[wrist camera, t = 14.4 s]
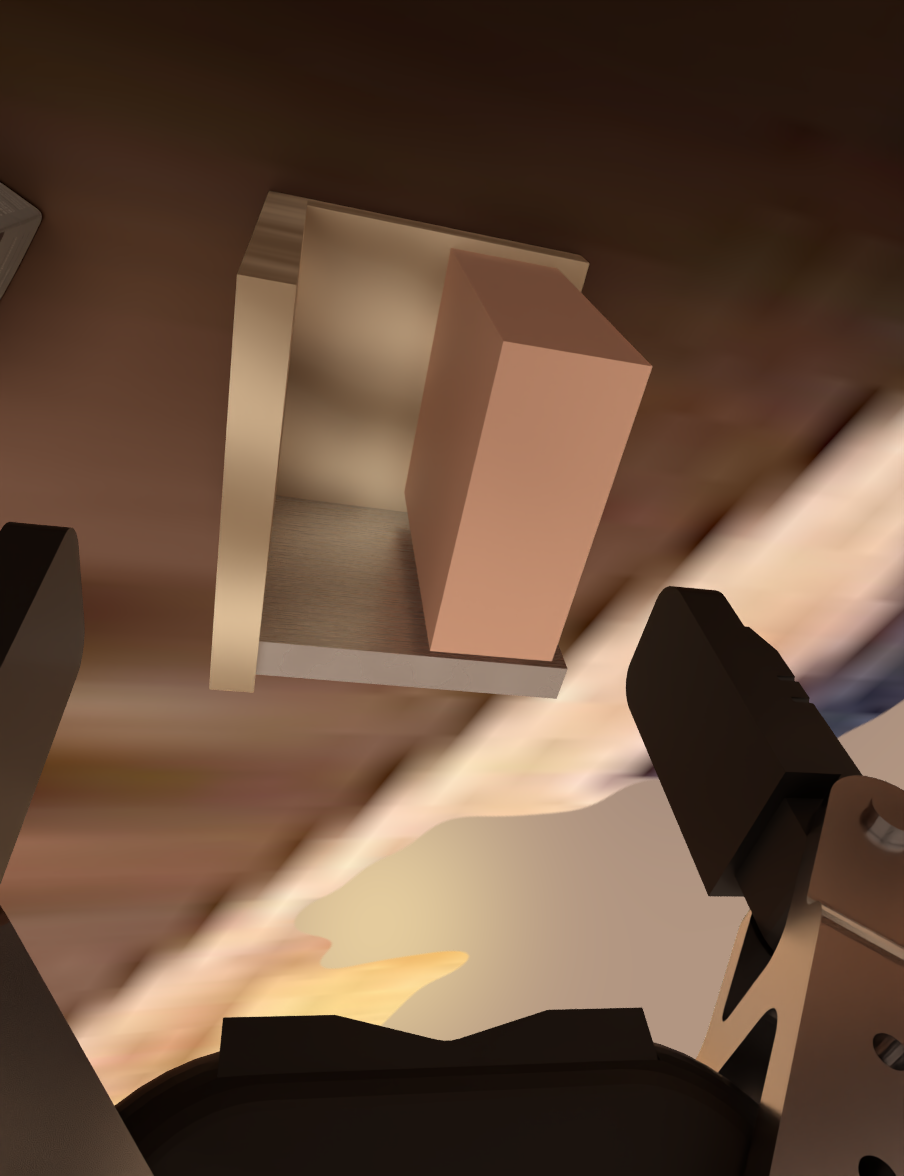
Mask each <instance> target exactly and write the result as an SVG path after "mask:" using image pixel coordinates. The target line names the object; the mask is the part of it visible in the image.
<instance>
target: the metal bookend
mask: <svg viewBox="0 0 904 1176" xmlns="http://www.w3.org/2000/svg"><path fill="white" fill-rule="evenodd" d="M566 671H567V667H566V664H565V661H564V659H563V656H562V653H561V651H560V648H559V645H557V648H556V651H555V653H554V656H553V659H552V661H542V660H530V659H518V658H506V657H494V656H483V655H471V654H459V653H447V652H435V651H430V648H429V642H428V636H427V630H426V624H425V617H424V611H423V605H422V599H421V593H420V587H419V581H418V574H417V568H416V562H415V556H414V550H413V544H412V537H411V531H410V525H409V519H408V513H407V512H401V511H393V510H385V509H378V508H370V507H362V506H354V505H346V504H339V503H331V502H323V501H315V500H307V499H300V498H292V497H284V496H276V500H275V508H274V517H273V526H272V534H271V543H270V552H269V560H268V569H267V577H266V586H265V595H264V603H263V612H262V621H261V629H260V638H259V647H258V656H257V666H256V674H259V675H271V676H284V677H296V678H308V679H321V680H333V681H345V682H358V683H370V684H382V685H395V686H407V687H419V688H432V689H444V690H456V691H469V692H481V693H493V694H506V695H518V696H530V697H543V698H555V699H557V696H558V693H559V691H560V688H561V685H562V682H563V680H564V677H565V674H566Z"/></svg>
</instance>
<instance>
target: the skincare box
mask: <svg viewBox="0 0 904 1176" xmlns="http://www.w3.org/2000/svg"><path fill="white" fill-rule="evenodd" d="M41 220H42V215H41V212H40V211H39V210H38V209H37V208H35V207H34V206H33V205H31V204H30V203H28V202H27V201H26V200H24V199H23V198H21V197H20V196H19V195H17V194H16V193H15V192H13V191H12V190H10V189H9V188H8V187H6V186H5V185H3V184H2V183H1V182H0V299H1V297H2V296H3V294H4V292H5V290H6V288H7V287H8V285H9V283H10V281H11V280H12V278H13V276H14V274H15V272H16V270H17V268H18V266H19V264H20V263H21V261H22V259H23V257H24V255H25V253H26V251H27V249H28V247H29V245H30V243H31V241H32V239H33V237H34V235H35V233H36V231H37V229H38V226H39V224H40V222H41Z"/></svg>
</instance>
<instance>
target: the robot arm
mask: <svg viewBox="0 0 904 1176" xmlns="http://www.w3.org/2000/svg"><path fill="white" fill-rule="evenodd" d="M83 645H84V613H83V600H82V586H81V573H80V560H79V546H78V539H77V535H76V532H75V530H74V529H73V528H68V527H58V526H47V525H37V524H26V523H16V522H8V523H6V524H5V525H4V526H3V528H2V529H1V531H0V884H1V881H2V878H3V875H4V873H5V870H6V867H7V865H8V862H9V859H10V856H11V854H12V851H13V848H14V846H15V843H16V840H17V837H18V835H19V832H20V829H21V827H22V824H23V821H24V818H25V816H26V813H27V810H28V808H29V805H30V802H31V799H32V797H33V794H34V791H35V788H36V786H37V783H38V780H39V778H40V775H41V772H42V769H43V767H44V764H45V761H46V759H47V756H48V753H49V750H50V748H51V745H52V742H53V740H54V737H55V734H56V731H57V729H58V726H59V723H60V721H61V718H62V715H63V712H64V710H65V707H66V704H67V701H68V699H69V696H70V693H71V691H72V688H73V685H74V682H75V680H76V677H77V674H78V671H79V668H80V664H81V659H82V653H83ZM794 678H795V676H794V675H793V673H792V672H791V670H790V669H789V667H788V666H787V664H786V663H785V661H784V660H783V659H782V657H781V656H780V654H779V653H778V651H777V650H776V649H774V648H773V647H772V646H771V645H770V644H769V643H767V642H766V641H765V640H764V639H763V638H761V637H760V636H759V635H758V634H757V633H756V632H754V631H753V630H752V629H751V628H750V627H744V625H743V624H742V622H741V621H740V619H739V618H738V616H737V615H736V613H735V612H734V610H733V608H732V607H731V605H730V604H729V602H728V601H727V599H726V598H725V597H724V595H723V594H722V593H721V592H719V591H716V590H705V589H695V588H684V587H674V586H669V587H666V588H665V589H663V591H662V592H661V593H660V594H659V596H658V598H657V600H656V602H655V605H654V607H653V610H652V612H651V614H650V617H649V619H648V622H647V624H646V626H645V629H644V631H643V634H642V636H641V638H640V641H639V643H638V646H637V648H636V650H635V653H634V655H633V658H632V660H631V663H630V665H629V668H628V672H627V678H626V696H627V702H628V706H629V709H630V711H631V714H632V716H633V718H634V721H635V723H636V725H637V728H638V730H639V733H640V735H641V737H642V740H643V742H644V744H645V747H646V749H647V751H648V754H649V756H650V759H651V761H652V763H653V766H654V768H655V770H656V773H657V775H658V777H659V780H660V782H661V785H662V787H663V789H664V792H665V794H666V796H667V799H668V801H669V804H670V806H671V808H672V810H673V813H674V815H675V818H676V820H677V822H678V825H679V827H680V829H681V832H682V834H683V837H684V839H685V841H686V844H687V846H688V848H689V851H690V853H691V856H692V858H693V860H694V863H695V865H696V867H697V870H698V872H699V875H700V877H701V879H702V882H703V884H704V886H705V889H706V891H707V894H708V896H744V897H745V899H746V901H747V903H748V906H749V907H750V910H749V911H748V913H747V914H746V915H745V917H744V918H743V920H742V922H741V924H740V926H739V929H738V933H737V936H736V939H735V943H734V946H733V949H732V953H731V956H730V959H729V962H728V965H727V969H726V972H725V975H724V979H723V982H722V985H721V988H720V992H719V995H718V999H717V1002H716V1005H715V1009H714V1012H713V1015H712V1018H711V1021H710V1025H709V1028H708V1031H707V1034H706V1037H705V1040H704V1042H703V1045H702V1047H701V1050H700V1052H699V1054H698V1056H697V1058H696V1059H693V1058H692V1057H690V1056H688V1055H686V1054H684V1053H681V1052H679V1051H676V1050H674V1049H671V1048H669V1047H666V1046H664V1045H661V1044H657V1043H654V1042H653V1041H652V1038H651V1035H650V1031H649V1028H648V1025H647V1021H646V1018H645V1015H644V1012H643V1009H642V1008H610V1009H566V1010H546V1011H543V1012H540V1013H537V1014H534V1015H531V1016H528V1017H525V1018H521V1019H518V1020H516V1021H512V1022H509V1023H506V1024H503V1025H500V1026H497V1027H494V1028H491V1029H488V1030H485V1031H482V1032H479V1033H475V1034H472V1035H469V1036H467V1037H463V1038H460V1039H456V1040H452V1041H442V1040H436V1039H431V1038H427V1037H423V1036H419V1035H415V1034H411V1033H406V1032H403V1031H399V1030H394V1029H390V1028H386V1027H382V1026H378V1025H374V1024H370V1023H366V1022H362V1021H357V1020H353V1019H349V1018H345V1017H341V1016H337V1015H315V1016H273V1017H231V1018H223V1025H222V1035H221V1045H220V1051H219V1052H216V1053H213V1054H210V1055H207V1056H204V1057H200V1058H197V1059H194V1060H192V1061H190V1062H187V1063H185V1064H183V1065H181V1066H178V1067H176V1068H174V1069H172V1070H169V1071H167V1072H165V1073H164V1074H162V1075H160V1076H158V1077H157V1078H155V1079H153V1080H152V1081H150V1082H148V1083H146V1084H145V1085H143V1086H141V1087H140V1088H138V1089H137V1090H135V1091H134V1092H133V1093H131V1094H130V1095H129V1096H127V1097H126V1098H125V1099H123V1100H122V1101H121V1102H119V1103H118V1104H116V1105H115V1106H114V1105H113V1103H112V1101H111V1099H110V1097H109V1096H108V1094H107V1092H106V1090H105V1089H104V1087H103V1085H102V1083H101V1082H100V1080H99V1078H98V1076H97V1074H96V1073H95V1071H94V1069H93V1067H92V1066H91V1064H90V1062H89V1060H88V1058H87V1057H86V1055H85V1053H84V1051H83V1050H82V1048H81V1046H80V1044H79V1043H78V1041H77V1039H76V1037H75V1035H74V1034H73V1032H72V1030H71V1028H70V1027H69V1025H68V1023H67V1021H66V1020H65V1018H64V1016H63V1014H62V1012H61V1011H60V1009H59V1007H58V1005H57V1004H56V1002H55V1000H54V998H53V997H52V995H51V993H50V991H49V989H48V988H47V986H46V984H45V982H44V981H43V979H42V977H41V975H40V973H39V972H38V970H37V968H36V966H35V965H34V963H33V961H32V959H31V958H30V956H29V954H28V952H27V950H26V949H25V947H24V945H23V943H22V942H21V940H20V938H19V936H18V935H17V933H16V931H15V929H14V927H13V926H12V924H11V922H10V920H9V919H8V917H7V915H6V914H5V912H4V911H3V909H2V908H1V906H0V1176H904V790H902V789H900V788H899V787H897V786H895V785H892V784H890V783H888V782H886V781H883V780H880V779H877V778H873V777H868V776H863V775H862V774H861V773H860V771H859V770H858V768H857V767H856V765H855V764H854V762H853V761H852V759H851V758H850V756H849V755H848V754H847V752H846V751H845V749H844V748H843V746H842V745H841V744H840V742H839V740H838V739H837V737H836V736H835V735H834V733H833V732H832V730H831V729H830V727H829V726H828V724H827V723H826V721H825V720H824V718H823V717H822V716H821V714H820V713H819V711H818V710H817V708H816V707H815V705H814V704H813V703H809V697H808V695H807V694H806V692H805V691H804V689H803V688H802V686H801V685H800V683H799V682H795V681H794Z"/></svg>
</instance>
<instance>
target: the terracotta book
mask: <svg viewBox="0 0 904 1176" xmlns="http://www.w3.org/2000/svg"><path fill="white" fill-rule="evenodd" d="M651 369H652V366H651V365H650V364H649V362H648V361H647V360H646V359H645V358H644V357H643V356H642V355H641V354H640V353H639V352H638V351H637V350H636V349H635V348H634V347H633V346H632V345H631V344H630V343H629V342H628V341H627V340H626V339H625V338H624V337H623V336H622V335H621V334H620V332H619V331H618V330H617V329H616V328H615V327H614V326H613V325H612V324H611V323H610V322H609V321H608V320H607V319H606V318H605V317H604V316H603V315H602V314H601V313H600V312H599V311H598V310H597V309H596V308H595V307H594V306H593V305H592V304H591V303H590V301H589V300H588V299H587V298H586V297H585V296H584V295H583V294H582V293H581V292H580V291H579V290H578V289H577V288H576V287H575V286H574V285H573V284H572V283H571V282H570V281H569V280H568V279H567V278H566V277H565V276H564V275H563V274H562V273H561V271H560V270H559V269H558V268H553V267H548V266H542V265H537V264H532V263H527V262H522V261H516V260H511V259H506V258H501V257H496V256H491V255H485V254H480V253H475V252H470V251H465V250H460V249H454V248H451V250H450V255H449V260H448V266H447V271H446V276H445V281H444V287H443V292H442V297H441V302H440V307H439V313H438V318H437V323H436V328H435V334H434V339H433V344H432V349H431V355H430V360H429V365H428V370H427V376H426V381H425V386H424V391H423V397H422V402H421V407H420V412H419V418H418V423H417V428H416V433H415V438H414V444H413V449H412V454H411V459H410V465H409V470H408V475H407V480H406V486H405V491H404V494H405V500H406V507H407V513H408V519H409V525H410V531H411V537H412V544H413V550H414V556H415V562H416V568H417V574H418V581H419V587H420V593H421V599H422V605H423V611H424V617H425V624H426V630H427V636H428V642H429V648H430V651H435V652H447V653H459V654H471V655H483V656H494V657H506V658H518V659H530V660H542V661H552V659H553V656H554V653H555V651H556V648H557V645H558V642H559V639H560V636H561V633H562V630H563V627H564V624H565V621H566V618H567V615H568V612H569V609H570V607H571V604H572V601H573V598H574V595H575V592H576V589H577V586H578V583H579V580H580V577H581V574H582V571H583V568H584V566H585V563H586V560H587V557H588V554H589V551H590V548H591V545H592V542H593V539H594V536H595V533H596V530H597V527H598V525H599V522H600V519H601V516H602V513H603V510H604V507H605V504H606V501H607V498H608V495H609V492H610V489H611V486H612V483H613V481H614V478H615V475H616V472H617V469H618V466H619V463H620V460H621V457H622V454H623V451H624V448H625V445H626V442H627V440H628V437H629V434H630V431H631V428H632V425H633V422H634V419H635V416H636V413H637V410H638V407H639V404H640V401H641V399H642V396H643V393H644V390H645V387H646V384H647V381H648V378H649V375H650V372H651Z"/></svg>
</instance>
